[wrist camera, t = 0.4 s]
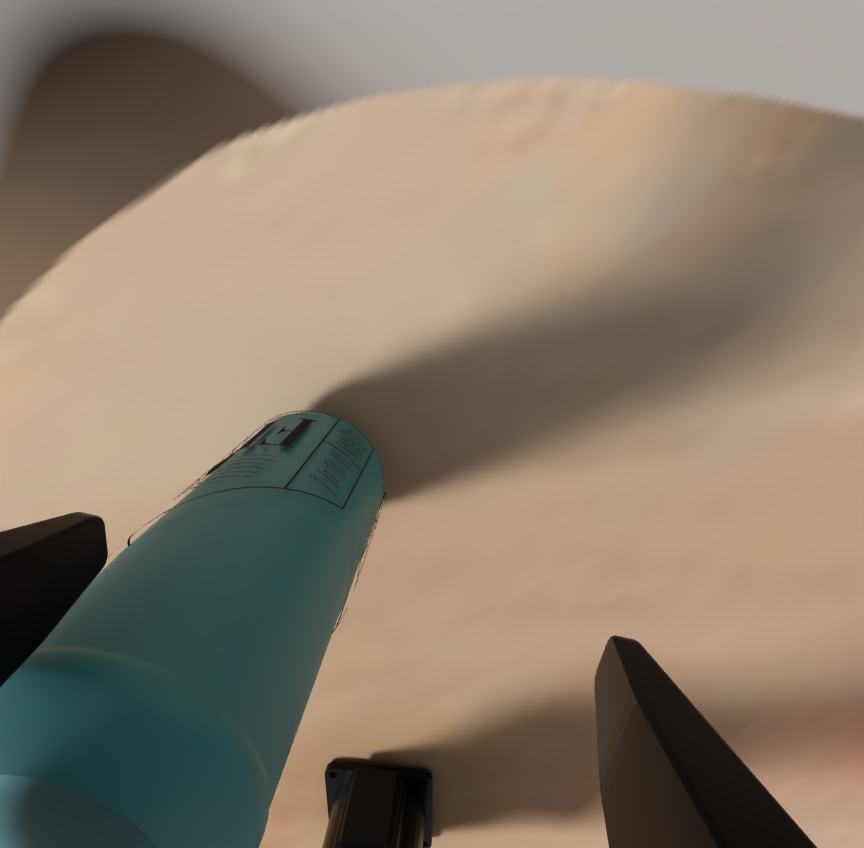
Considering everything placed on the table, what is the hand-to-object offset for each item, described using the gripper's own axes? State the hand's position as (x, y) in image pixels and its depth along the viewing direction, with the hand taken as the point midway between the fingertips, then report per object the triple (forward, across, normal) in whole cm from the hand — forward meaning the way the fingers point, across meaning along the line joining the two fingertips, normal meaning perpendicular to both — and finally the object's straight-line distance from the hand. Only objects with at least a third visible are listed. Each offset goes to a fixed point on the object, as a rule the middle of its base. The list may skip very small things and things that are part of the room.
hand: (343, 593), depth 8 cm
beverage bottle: (+14, +5, +5) cm, 16 cm away
